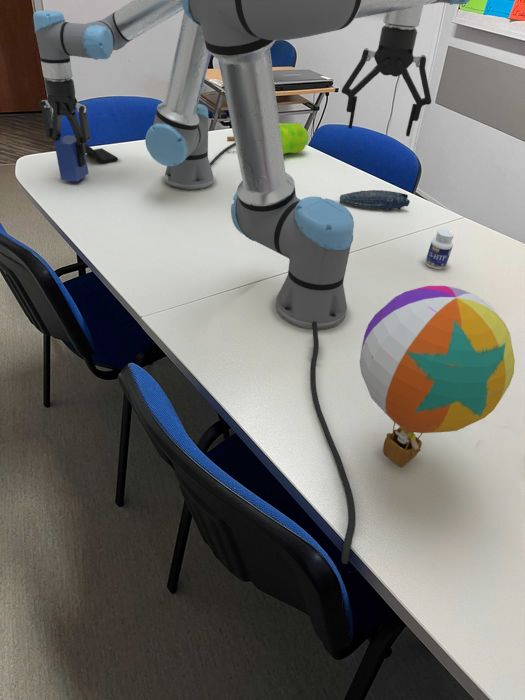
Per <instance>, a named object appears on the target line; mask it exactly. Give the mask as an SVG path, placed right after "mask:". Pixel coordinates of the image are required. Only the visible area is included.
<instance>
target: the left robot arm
mask: <svg viewBox="0 0 525 700" xmlns="http://www.w3.org/2000/svg"><path fill="white" fill-rule="evenodd" d="M182 11H183V14H182V20H181V25H180V28H179V34H178V37H177V43H176V47H175V52H174V57H173V61H172V65H171V71H170V75H169V79H168V82H167V83H168V84H167V88H166V89H167V90H166V93H165V98H164V101H163V102H161V103H159V104H157V107H156V111H155V116H154V120H153V125H151V126H150V127H149V128H148V130H147V132H146V135H145V140H144V141H145V147H146V150H147V152H148V153H149V154H150V157H152V159H153V160H154V161H155V162H157V163H158V164H160V165H162V166H165V167H166V168H165V172H164V182H165V183H166V184H167V185H168V186H170V187H171V188H175V189H179V190H185V191H198V190H204V189H207V188H209V187H211V186H212V185H213V184H214V173H213V170H212V165H213V164H214V162H215V161H216V160H217V159H218V158H219V157H220V156H221V155H223V154H224V153H225V152H227V150H229V149H231V148H233V147H234V146H236V145H235V142H233V143H232V144H230V145H228V146H227V147H225V148H224V149H223V150H222V151H220V152H219V153H218V154H217V155H216V156H215V157H214V158H213V159H212V160H211V161H210V160H209V159H210V158H209V120H210V117H209V109H208V107H207V106H206V105H204V104H201V103H200V98H201V95H202V91H203V88H204V87H203V86H204V83H205V80H206V76H207V72H208V67H209V63H210V61H211V57H212V55H211V54H210V53H209V52H208V51H207V49H206V45H205V40H204V36H203V31H202V27H201V26H200V25H198V24H196V23H194V22H193V21H192V19H191V18H189V17H188V16H187V15H186V13H185V11H184V9H183V7H182V4H181V0H131V1H129V2H128V3H126V4H125V5H123V6H122V7H120V8H119V9H116V11H114V12H112V13H111V14H109V15H107V16H106V17H104V18H102V19H100V20H96V21H91V22H87V23H78V22H68V21H66V19H65V16H64V14H63V12H61V11H58V10H49V9H47V10H45V9H44V10H36V11H35V12H33V15H32V16H33V18H32V19H33V25H34V34H35V37H36V42H37V46H38V52H39V58H40V64H41V70H42V76H43V77H44V87H45V91H46V95H47V98H46V99H42V100H40V101H38V105H39V108H40V109H41V113H42V118H43V124H44V130H45V136H46V138H47V139H51V140H52V141H53V144H54V142H56V141H57V140H59V139H61V138H63V137H62V136H61V135H62V124H63V123H62V121H63V116H64V117H66V119H67V120H68V122H69V124H70V127H71V130H72V132H73V134H74V135H73V136H75V137H76V140H77V142H78V143H76V144H75V146H76V152H77V158H78V164H79V167H82V166H84V165H85V158H84V155H85V154H86V148H85V144H86V143H88V142H90V141H91V139H92V138H91V133H90V127H89V126H90V125H89V120H88V114H87V112H88V105H87V104H81V103H80V102H78V99H77V98H76V89H75V82H74V79H73V70H72V69H73V68H72V63H71V57H78V58H85V59H86V58H87V59H93V60H97V61H98V60H107V59H109V58H111V55H112V54H113V51H118V50H120V49H122V48H124V47H125V46H126V45H127V44H128V43H129V42H131V41H132V40H134V39H136V38H138V37H140V36H141V35H142V34H144V33H147V32H148V31H150V30H152V29H153V28H155V27H156V26H158V25H160V24H162V23H163V22H165V21H166V20H169V19H170V18H172V17H173V16H175V15H177V14H179V13H180V12H182ZM76 109H77V110H76ZM51 110H52V111H51ZM76 111H77V112H78V115H77V112H76ZM52 117H53V118H52ZM77 117H78V118H77ZM54 146H55V144H54ZM54 149H55V148H54ZM55 151H56V149H55ZM86 155H87V154H86Z"/></svg>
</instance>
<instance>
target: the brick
mask: <svg viewBox="0 0 525 700" xmlns="http://www.w3.org/2000/svg"><path fill="white" fill-rule="evenodd" d="M76 143H78V142H77V140H76V137H75V135H70V134H66V135H65V136H63V137H62V138H60V139H59V140H57V141H56V142H54V141H53V144H55V145H54V149H56V150H55V154H56V155H55V156H56V160H57V164H58V170H59V176H60V180H61V181H63V180H64V181H68V182H69V181H70V182H76V183H77V182H79V181H80V180H82V179H83V178H84V177H86V176H87V175H88V174H89V169H88V168H89V167H88V161H87V154H85V155H84V158H85V165H84V166H82V167H79V164H78V158H77V152H76V146H75V144H76Z"/></svg>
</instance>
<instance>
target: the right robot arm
mask: <svg viewBox="0 0 525 700" xmlns="http://www.w3.org/2000/svg"><path fill="white" fill-rule="evenodd" d="M470 1H471V0H181V4H182V7H183V9H184V10H183V12H184V11H185V13H186V15H187V16H188V17H189V18H191V19H192V21H193V22H194V23H196V24H198V25H200V26H201V27H202V31H203V36H204V40H205V45H206V49H207V51H208V52H209V53H210V54H211V56H212V57H215V59H217V62H218V65H219V70H220V75H221V80H222V85H223V90H224V94H225V100H226V105H227V109H228V115H229V120H230V125H231V130H232V135H233V137H234V140H235V141H234V143H235V145H234V146H235V149H236V155H237V159H238V164H239V170H240V174H241V175H240V176H241V179H242V180H241V181H240V182H239V185H238V186H237V190H236V191H235V193H234V195H233V198H232V200H233V203H231V206H230V216H231V221H232V223H233V226H234V227H235V228H236V230H237V231H238V232H239V233H240V234H242V235H243V236H245V237H246V238H247V239H248V240H250V241H252V242H256V243H258V245H259V244H260V245H262V246H263V247H264V248H265V247H266V248H268V249H270V250H272V251H273V252H275V253H278V254H280V255H281V256H283V257H285V258H287V259H288V260H289V262H288V263H289V264H288V270H287V271H288V272H287V275H286V278H285V279H284V282H283V283H282V285H281V287H280V290H279V291H278V294H277V296H276V300H275V311H276V313H277V315H278V316H279V317H280V318H281V319H282V320H283V321H284V322H286V323H287V324H289V325H291V326H293V327H296V328H300V329H304V330H310V331H312V339H313V347H312V355H311V361H310V369H309V370H310V371H309V373H310V374H309V381H310V382H309V383H310V392H311V397H312V403H313V406H314V407H313V408H314V410H315V413H316V416H317V418H318V421H319V424H320V426H321V429H322V432H323V435H324V437H325V440H326V442H327V445H328V447H329V450H330V452H331V455H332V457H333V460H334V462H335V465H336V467H337V471H338V474H339V477H340V481H341V483H342V486H343V490H344V493H345V498H346V503H347V514H348V518H347V519H348V520H347V526H346V531H345V536H344V540H343V545H342V551H341V557H340V561H341V563H342V564H344V565H347V564H348V563H349V561H350V553H351V547H352V542H353V538H354V534H355V529H356V506H355V505H356V504H355V500H354V499H355V498H354V496H353V491H352V487H351V485H350V481H349V478H348V476H347V473H346V469H345V467H344V466H345V465H344V464H343V460H342V459H341V456H340V453H339V451H338V449H337V446H336V443H335V442H334V439H333V437H332V434H331V431H330V429H329V426H328V424H327V421H326V419H325V416H324V413H323V411H322V408H321V405H320V400H319V395H318V390H317V379H316V377H317V376H316V375H317V372H316V371H317V360H318V355H319V346H320V345H319V341H320V340H319V331H324V330H325V331H326V330H329V329H333V328H336V327H337V326H339V325H340V324H342V323H343V322H344V320H345V318H346V315H347V310H348V305H347V297H346V292H345V286H344V280H345V275H346V271H347V267H348V262H349V257H350V253H351V252H350V251H351V247H352V244H353V242H354V231H355V229H354V228H355V220H354V216H353V215H352V213H351V211H350V210H349V209H348V208H347V207H345V205H343V204H342V203H341V202H338V201H336V200H333V199H331V198H327V197H326V198H322V197H321V196H307V197H304V198H302V199H300V198H298V196H297V193H296V185H295V180H294V178H293V177H292V175H290V174H289V173H287V171H286V166H285V165H286V164H285V160H284V159H285V157H284V154H283V149H282V141H281V133H280V125H279V123H280V117H279V110H278V102H277V93H276V86H275V78H274V69H273V61H272V54H271V48H272V47H273V45H274V44H275V42H276V41H291V40H296V39H302V38H308V37H313V36H318V35H323V34H326V33H331V32H336V31H341V30H343V29H345V28H347V27H348V26H350V25H351V24H352V23H353V21H354V20H355V19H360V18H364V17H365V18H366V17H371V16H376V15H381V14H383V21H382V22H383V23H384V24H385V25H383V26H382V27H381V31H380V36H379V41H378V47H377V49H376V51H374V50H371V49H369V48H368V47H365V48H364V49H363V51H362V54H361V57H360V60H359V61H358V63H357V65H356V66H355V68H354V69H353V71H352V72H351V74H350V76H349V77H348V78H347V80H346V82H345V83H344V84H343V86H342V89H341V93H342V94H343V95H346V96H347V104H346V113H350V116H349V122H348V127H347V128H348V129H351V130H352V128H353V124H354V117H355V113H356V107H357V101H358V96H357V94H358V93H359V92H360V91H361V90H362V89H363V88H365V87H366V86H367V85H368V84H369V83H370V82H371V81H372V80H373V79H374V78H375V77H376V76H378V75H379V74H381V75H383V76H392V77H395V78H397V77H400V76H402V79H403V80H404V82H405V85H406V86H407V88H408V90H409V92H410V94H411V96H412V98H413V99H414V102H415V103H412V105H411V110H410V113H409V114H410V115H409V119H408V123H407V127H406V131H405V135H406V137H410V135H411V131H412V127H413V124H414V122H418V120H419V119H420V115H421V111H422V108H423V106H426V105H431V104H432V97H431V96H432V95H431V92H430V87H429V82H428V77H427V72H426V64H427V57H426V55H425V54H421V55H414V48H415V46H416V45H415V44H416V40H417V35H418V30H417V29H416V28H417V27H419V26H420V23H421V18H422V13H423V9H424V6H426V5H433V4H438V3H444V4H449V5H450V6H452V5H461V6H462V5H466V4H468V3H469V2H470ZM373 58H374V61H375V63H376V65H375V66H374V67H373V68H372V69H371V70H370V71H369V72H368V73H367V74H366V75H365V76H364V77H363V78H362V79H361V80H360V81H359V82H358V83H357V84H356V85H355V86H354V87H352V85H353V83H354V82H355V80H356V78H357V77H358V75H359V74H360V72H362V69H363V68H364V66H365V65H366V63H367V62H370V61H371V60H372V59H373ZM413 63H414V64H415V68H418V71H419V76H420V80H421V86H422V90H423V95H424V97H421V94H420V92H419V91H418V88H417V87H416V85H415V83H414V81H413V78H412V77H411V74H410V73H409V71H408V69H409V67H410V66H411V65H412V64H413ZM351 87H352V88H351Z"/></svg>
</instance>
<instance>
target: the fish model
mask: <svg viewBox="0 0 525 700" xmlns="http://www.w3.org/2000/svg"><path fill="white" fill-rule="evenodd" d="M410 202H411V201H410V200H409V195H408V194H406V193H403V192H402V193H401V192H399V191H392V190H382V189H380V190H379V189H377V190H376V189H368V190H360V191H352V192H348V193H344V194H341V195H340V196H339V203H340V204H342V203H343V204H346V205H349V206H351V207H357V208H362V209H371V210H372V209H374V210H384V211H385V210H386V211H391V210H394V209H397V210H402V208H404V207H408V206H409V205H410Z"/></svg>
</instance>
